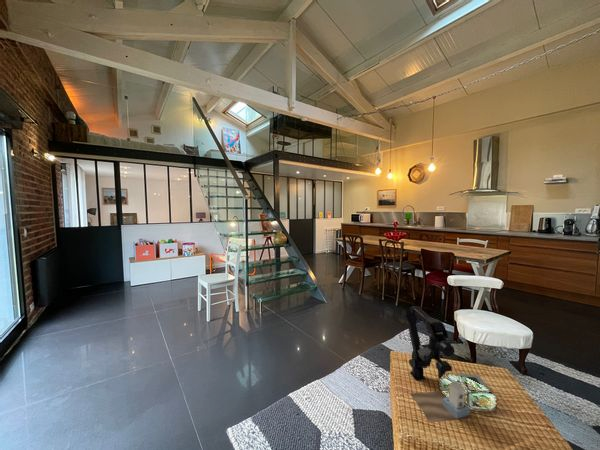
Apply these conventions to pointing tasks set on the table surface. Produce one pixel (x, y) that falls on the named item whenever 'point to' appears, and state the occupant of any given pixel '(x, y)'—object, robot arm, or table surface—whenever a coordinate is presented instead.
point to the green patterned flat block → (474, 378)
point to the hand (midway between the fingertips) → (433, 372)
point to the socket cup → (454, 411)
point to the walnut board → (434, 406)
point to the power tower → (456, 395)
